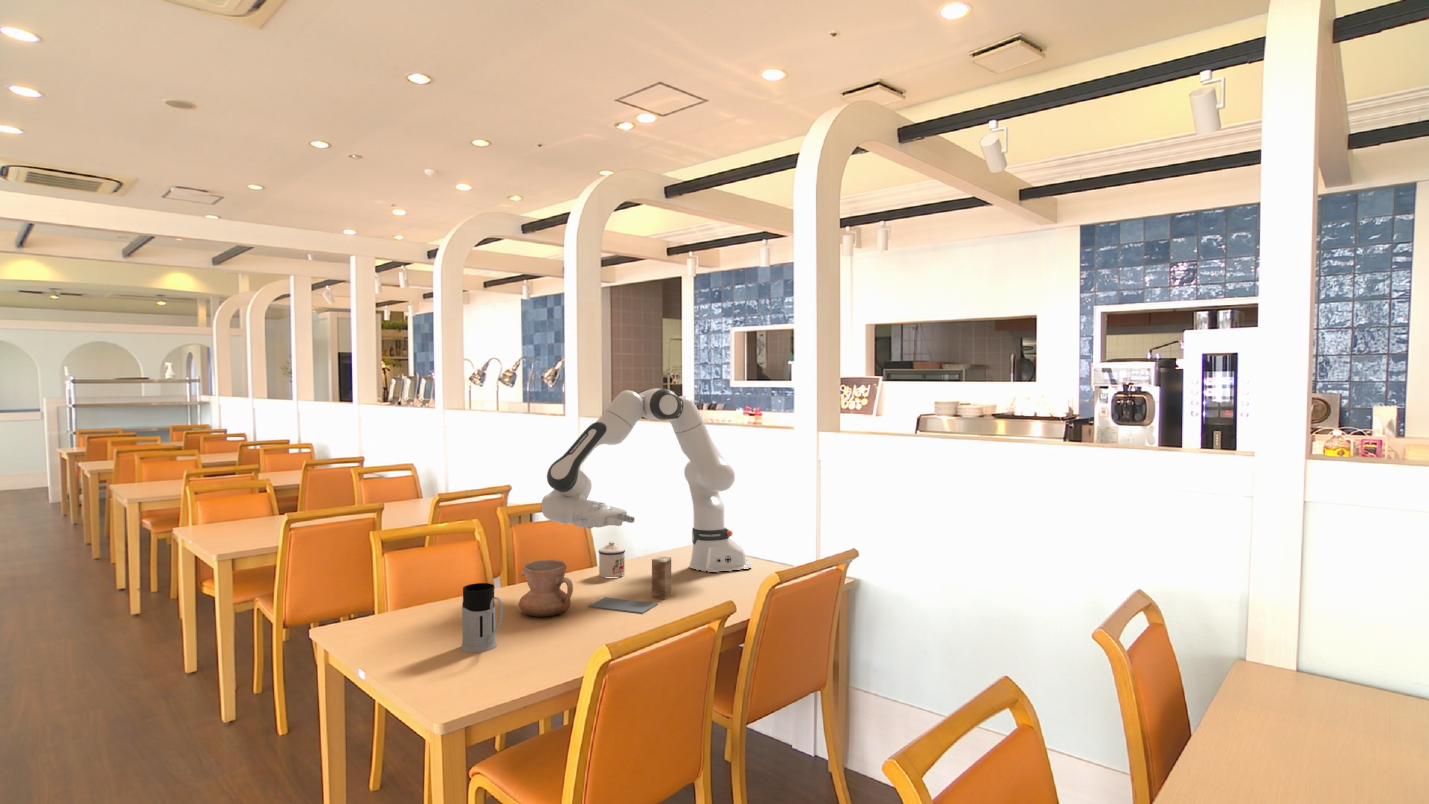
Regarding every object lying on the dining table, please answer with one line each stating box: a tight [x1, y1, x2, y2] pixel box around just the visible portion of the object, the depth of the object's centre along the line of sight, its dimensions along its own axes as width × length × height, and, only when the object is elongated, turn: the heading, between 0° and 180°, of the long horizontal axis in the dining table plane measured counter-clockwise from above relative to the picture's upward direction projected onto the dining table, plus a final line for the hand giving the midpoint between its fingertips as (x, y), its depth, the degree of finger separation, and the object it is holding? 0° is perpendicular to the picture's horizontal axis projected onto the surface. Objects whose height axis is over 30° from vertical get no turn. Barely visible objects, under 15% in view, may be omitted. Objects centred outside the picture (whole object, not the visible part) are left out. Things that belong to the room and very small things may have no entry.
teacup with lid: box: [598, 541, 626, 578], centre depth 261 cm, size 12×9×12 cm
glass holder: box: [460, 582, 504, 654], centre depth 187 cm, size 9×14×15 cm, turn 51°
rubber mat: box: [588, 596, 659, 615], centre depth 224 cm, size 18×10×1 cm, turn 69°
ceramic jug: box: [518, 559, 574, 618], centre depth 216 cm, size 18×14×14 cm
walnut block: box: [651, 555, 672, 600], centre depth 233 cm, size 4×4×12 cm
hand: (627, 521), depth 237 cm, fingers open, 8 cm apart
